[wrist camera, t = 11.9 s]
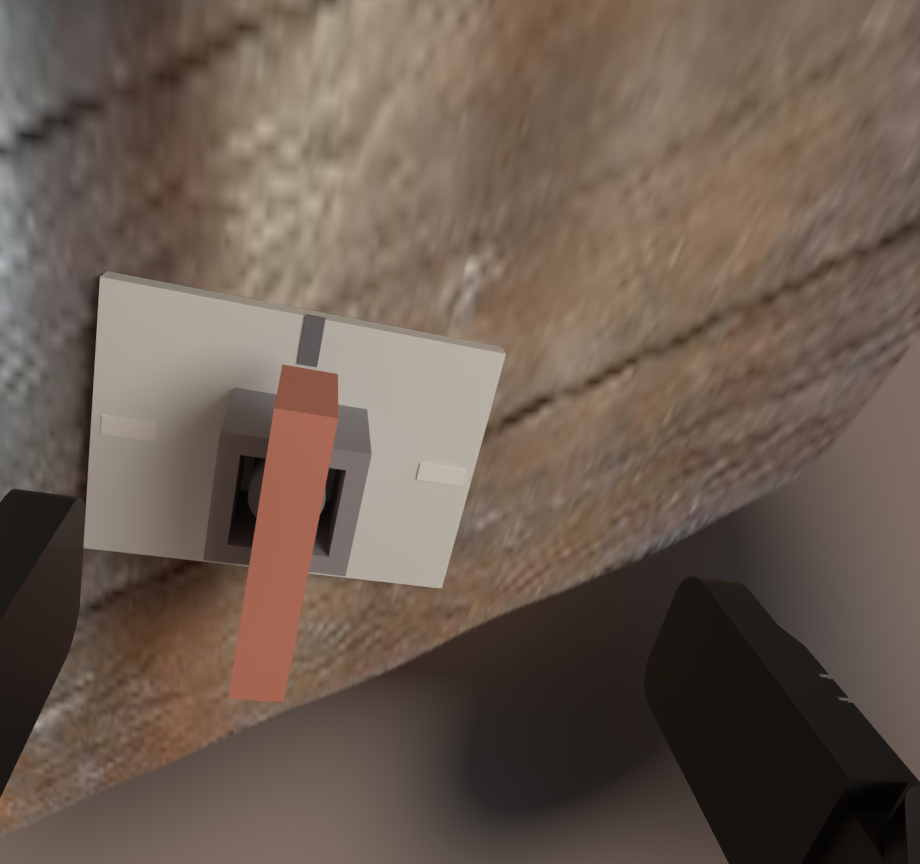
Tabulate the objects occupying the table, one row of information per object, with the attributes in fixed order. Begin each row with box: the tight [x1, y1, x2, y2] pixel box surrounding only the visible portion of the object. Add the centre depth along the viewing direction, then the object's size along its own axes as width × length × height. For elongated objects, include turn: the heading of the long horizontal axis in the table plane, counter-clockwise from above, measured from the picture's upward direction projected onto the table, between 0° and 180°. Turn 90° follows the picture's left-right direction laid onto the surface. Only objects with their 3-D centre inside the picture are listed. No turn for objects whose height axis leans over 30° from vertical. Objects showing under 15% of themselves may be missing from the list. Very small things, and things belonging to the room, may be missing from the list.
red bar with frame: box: [203, 364, 372, 702], centre depth 36 cm, size 14×7×10 cm, turn 166°
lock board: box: [84, 271, 506, 588], centre depth 39 cm, size 20×15×6 cm
